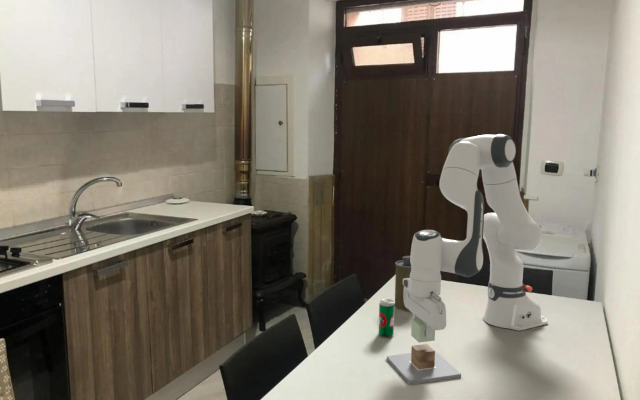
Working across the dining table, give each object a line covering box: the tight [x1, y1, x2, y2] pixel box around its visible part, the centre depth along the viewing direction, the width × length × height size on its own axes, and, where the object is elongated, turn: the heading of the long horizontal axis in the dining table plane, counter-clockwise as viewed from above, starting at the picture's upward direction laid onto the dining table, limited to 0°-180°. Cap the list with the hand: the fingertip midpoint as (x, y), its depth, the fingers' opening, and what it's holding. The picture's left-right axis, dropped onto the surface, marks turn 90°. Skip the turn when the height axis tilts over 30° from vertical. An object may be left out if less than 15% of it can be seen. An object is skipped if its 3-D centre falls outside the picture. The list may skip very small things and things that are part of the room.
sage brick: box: [410, 318, 436, 343], centre depth 151 cm, size 5×5×5 cm
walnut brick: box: [410, 343, 436, 369], centre depth 152 cm, size 5×5×5 cm
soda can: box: [378, 298, 395, 338], centre depth 175 cm, size 5×5×12 cm
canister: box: [394, 255, 411, 312], centre depth 202 cm, size 11×10×20 cm
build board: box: [386, 349, 462, 386], centre depth 152 cm, size 16×16×1 cm
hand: (423, 332), depth 151 cm, fingers closed on sage brick, 5 cm apart
